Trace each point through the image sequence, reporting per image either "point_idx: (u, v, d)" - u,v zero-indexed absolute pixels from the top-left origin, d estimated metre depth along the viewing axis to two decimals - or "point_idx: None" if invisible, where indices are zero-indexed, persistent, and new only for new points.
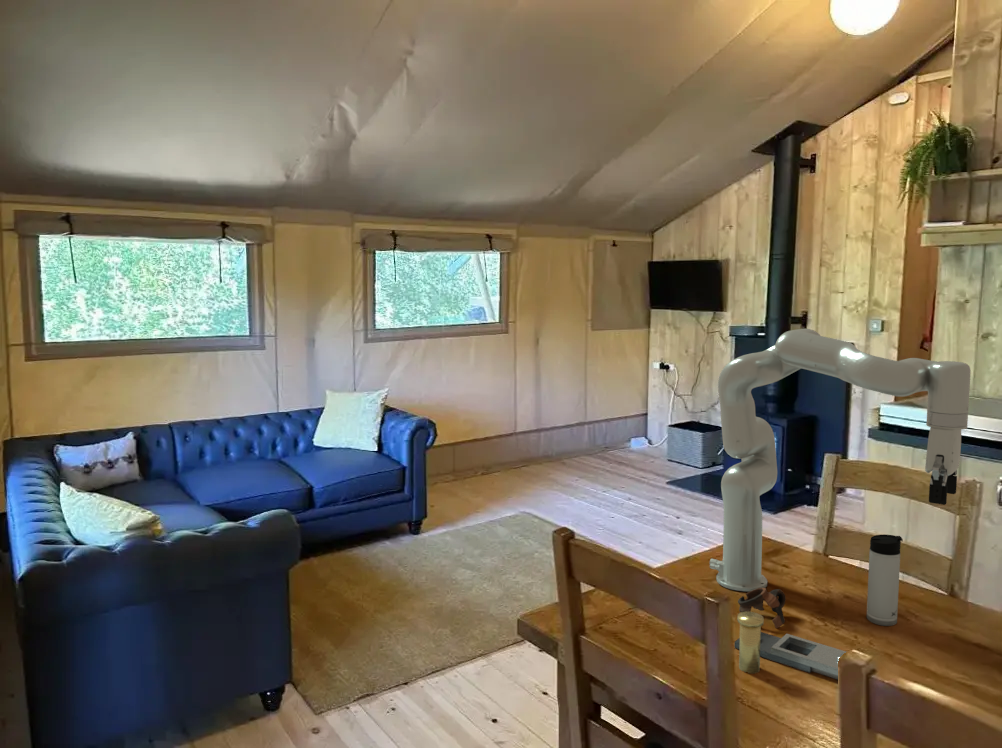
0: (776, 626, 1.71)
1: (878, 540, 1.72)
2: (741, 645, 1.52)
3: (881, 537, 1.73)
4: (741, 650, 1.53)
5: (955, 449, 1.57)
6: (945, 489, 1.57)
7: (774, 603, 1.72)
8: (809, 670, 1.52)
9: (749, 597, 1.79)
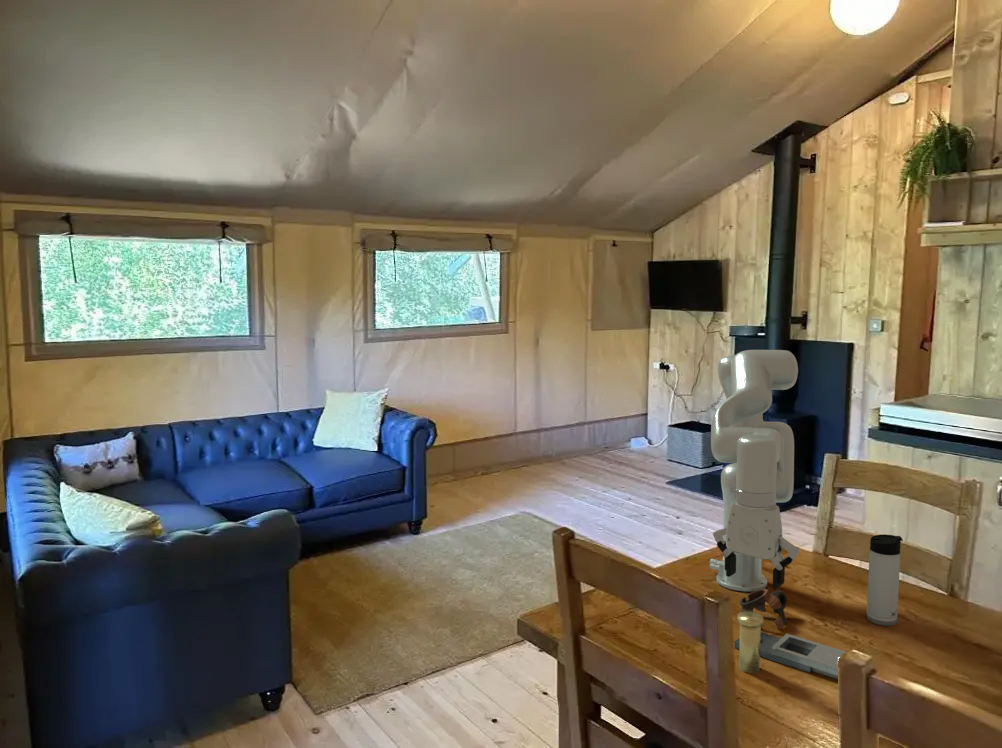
0: (778, 627, 1.70)
1: (878, 540, 1.72)
2: (741, 645, 1.52)
3: (881, 537, 1.73)
4: (741, 650, 1.53)
5: None
6: None
7: (776, 604, 1.71)
8: (809, 670, 1.52)
9: (751, 598, 1.78)
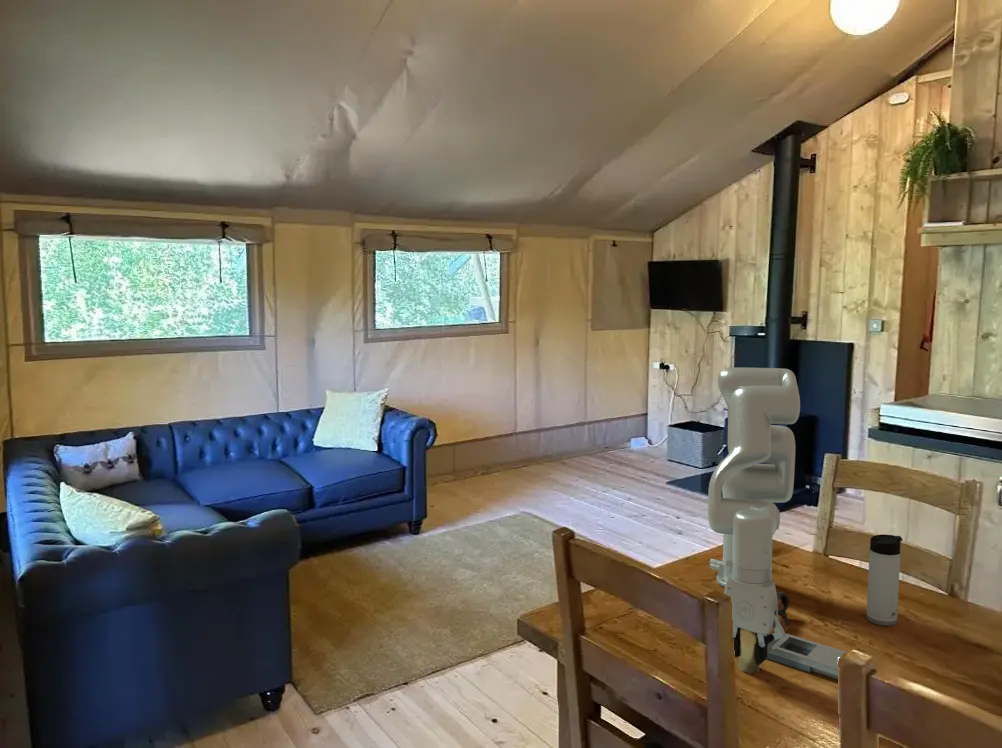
0: None
1: (878, 540, 1.72)
2: (741, 645, 1.52)
3: (881, 537, 1.73)
4: (741, 650, 1.53)
5: None
6: None
7: (778, 606, 1.70)
8: (809, 670, 1.52)
9: None
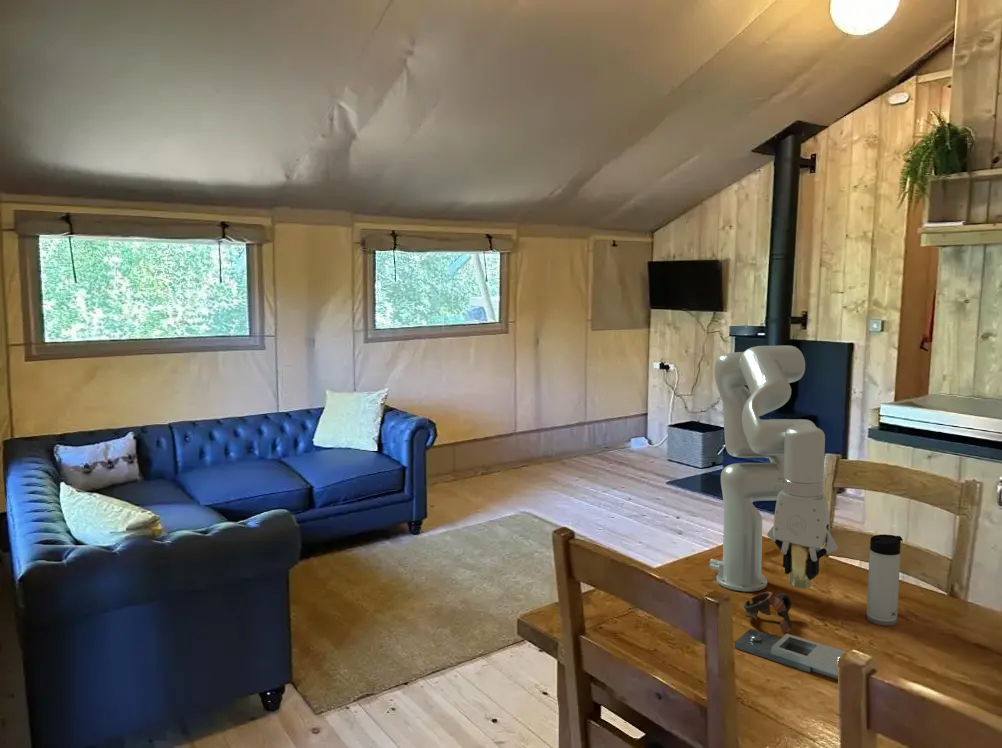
0: (783, 631, 1.69)
1: (878, 540, 1.72)
2: (792, 561, 1.54)
3: (881, 537, 1.73)
4: (792, 566, 1.54)
5: None
6: None
7: (781, 607, 1.70)
8: (809, 670, 1.52)
9: (754, 601, 1.76)
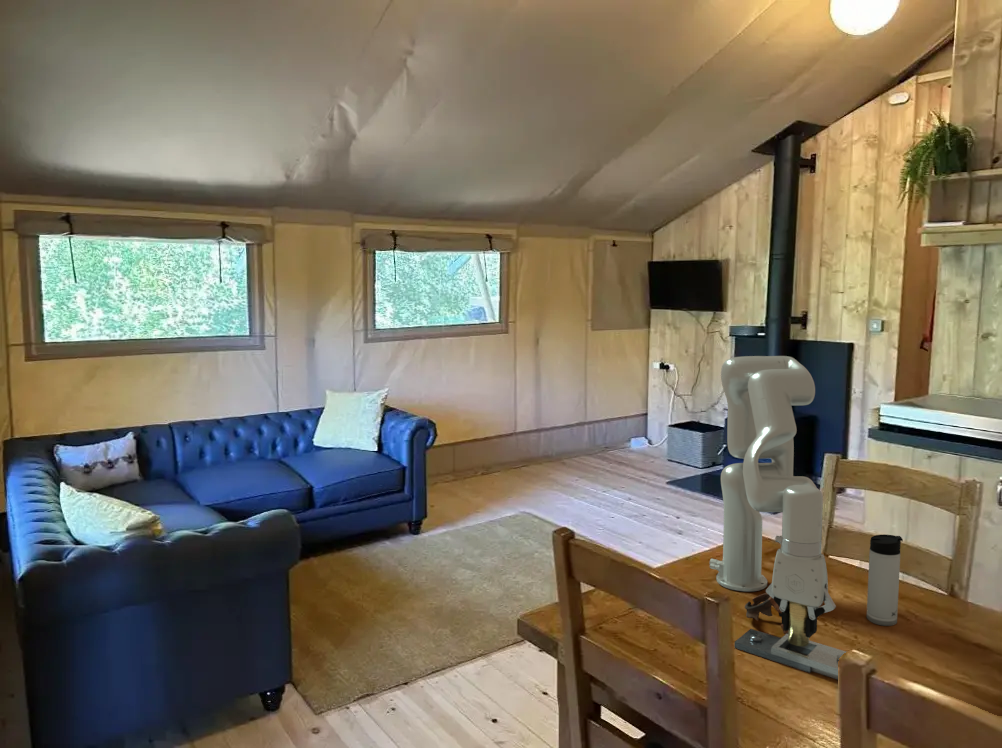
0: (784, 632, 1.68)
1: (878, 540, 1.72)
2: (791, 619, 1.55)
3: (881, 537, 1.73)
4: (791, 623, 1.55)
5: None
6: None
7: None
8: (809, 670, 1.52)
9: (756, 602, 1.76)
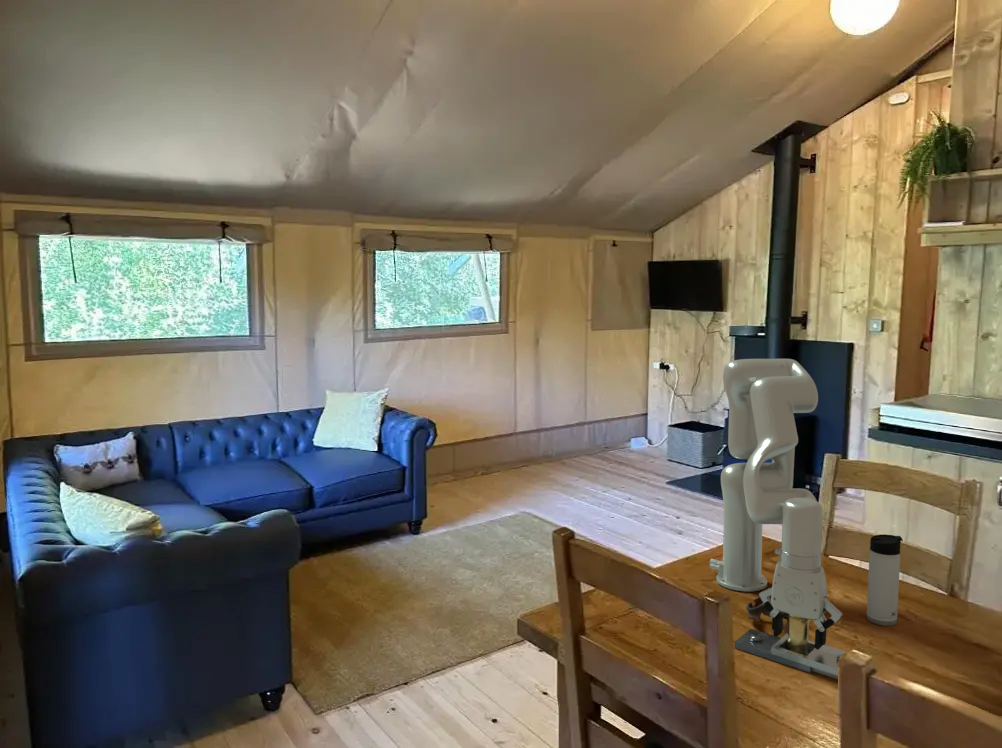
0: (786, 633, 1.68)
1: (878, 540, 1.72)
2: (790, 636, 1.56)
3: (881, 537, 1.73)
4: (790, 641, 1.56)
5: None
6: None
7: None
8: (809, 670, 1.52)
9: (757, 603, 1.75)
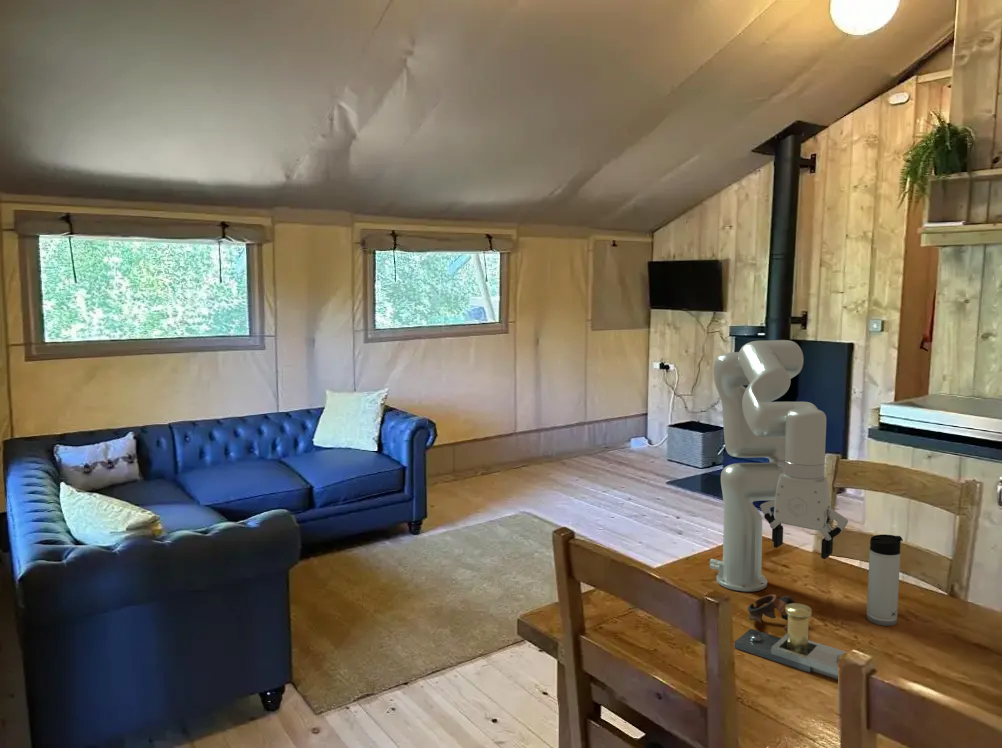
0: None
1: (878, 540, 1.72)
2: (789, 636, 1.56)
3: (881, 537, 1.73)
4: (789, 641, 1.56)
5: None
6: None
7: None
8: (809, 670, 1.52)
9: (758, 604, 1.75)
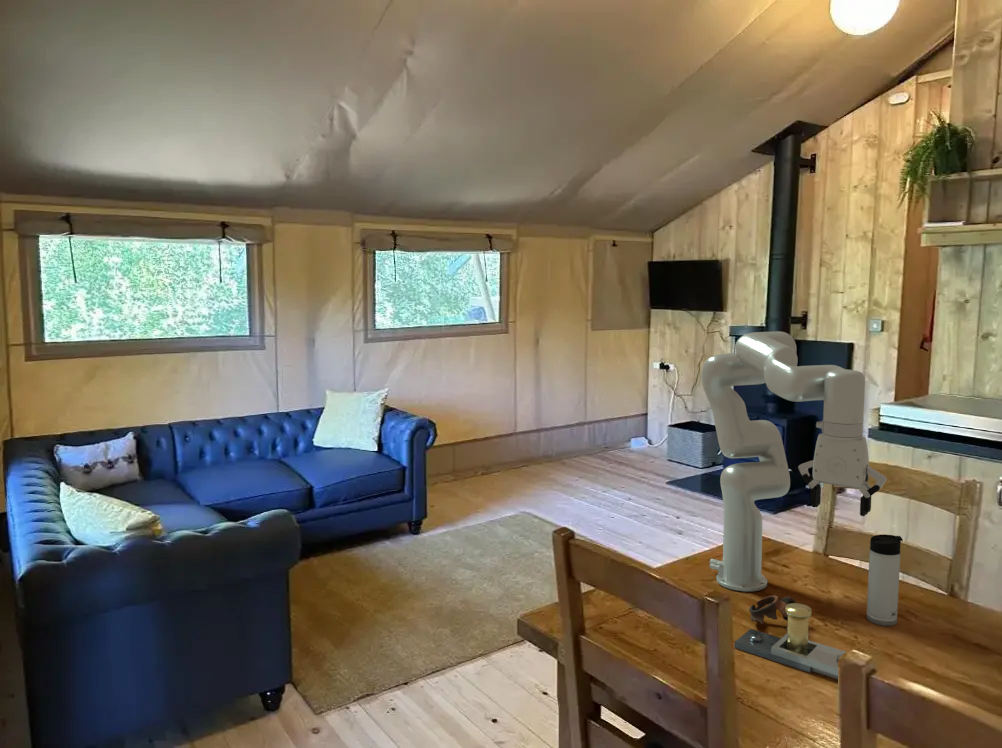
0: None
1: (878, 540, 1.72)
2: (789, 636, 1.56)
3: (881, 537, 1.73)
4: (789, 641, 1.56)
5: None
6: None
7: None
8: (809, 670, 1.52)
9: (760, 605, 1.74)
